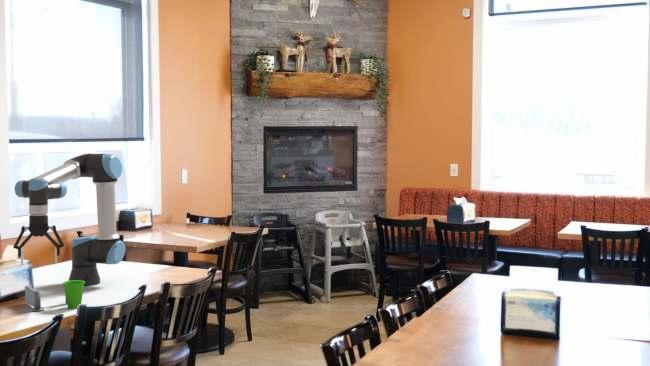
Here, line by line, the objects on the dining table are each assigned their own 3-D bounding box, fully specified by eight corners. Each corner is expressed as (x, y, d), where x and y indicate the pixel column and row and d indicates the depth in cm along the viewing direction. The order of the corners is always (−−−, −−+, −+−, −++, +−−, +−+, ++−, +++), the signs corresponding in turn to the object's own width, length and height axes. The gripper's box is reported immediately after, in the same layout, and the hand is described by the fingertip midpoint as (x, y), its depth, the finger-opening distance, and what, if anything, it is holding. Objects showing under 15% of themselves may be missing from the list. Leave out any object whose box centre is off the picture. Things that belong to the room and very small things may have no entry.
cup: (59, 309, 328) (58, 283, 328) (70, 304, 337) (70, 279, 337) (78, 310, 327) (78, 284, 326) (89, 305, 335) (89, 280, 335)
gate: (41, 308, 326) (41, 291, 325) (35, 309, 324) (35, 292, 324) (29, 300, 339) (29, 285, 339) (24, 301, 338) (23, 285, 337)
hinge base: (37, 308, 329) (37, 306, 329) (46, 309, 327) (46, 308, 327) (28, 311, 325) (28, 309, 324) (37, 312, 323) (37, 310, 322)
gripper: (6, 216, 321) (7, 266, 323) (69, 214, 329) (69, 264, 331) (7, 214, 329) (8, 263, 330) (69, 213, 336) (69, 261, 338)
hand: (39, 264), depth 330 cm, fingers open, 13 cm apart
